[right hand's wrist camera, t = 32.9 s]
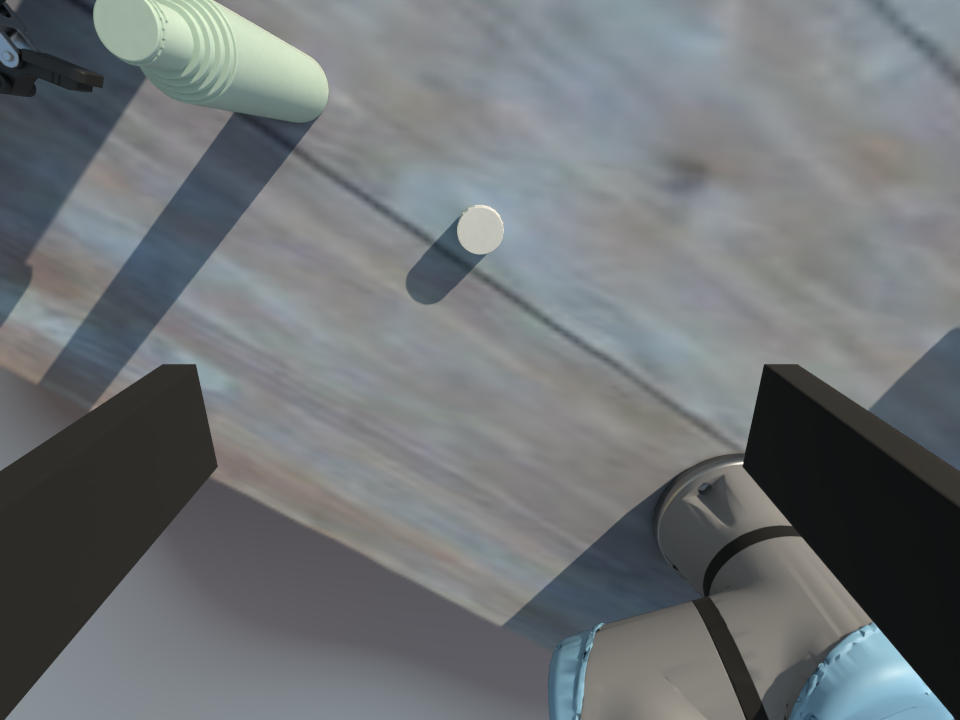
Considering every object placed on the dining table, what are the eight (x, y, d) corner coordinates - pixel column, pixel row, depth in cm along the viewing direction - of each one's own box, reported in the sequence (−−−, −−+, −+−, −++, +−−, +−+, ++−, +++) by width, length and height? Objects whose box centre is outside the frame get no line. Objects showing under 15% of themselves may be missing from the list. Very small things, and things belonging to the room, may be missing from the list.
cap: (496, 198, 43) (496, 200, 41) (508, 243, 44) (509, 247, 42) (451, 212, 43) (450, 214, 42) (465, 256, 45) (464, 261, 43)
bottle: (341, 97, 40) (214, 44, 21) (293, 136, 41) (130, 119, 22) (299, 36, 39) (120, -82, 19) (250, 78, 40) (34, 5, 20)
